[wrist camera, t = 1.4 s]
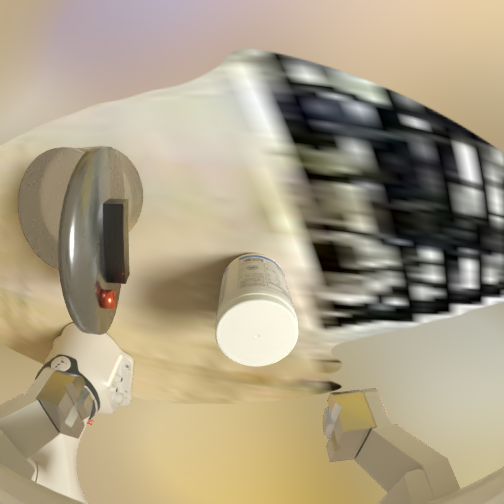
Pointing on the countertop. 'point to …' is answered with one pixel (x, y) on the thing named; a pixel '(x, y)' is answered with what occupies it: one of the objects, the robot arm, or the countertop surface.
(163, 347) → the countertop surface
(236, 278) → the supplement tub
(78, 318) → the cooker lid
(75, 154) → the cooker pot
